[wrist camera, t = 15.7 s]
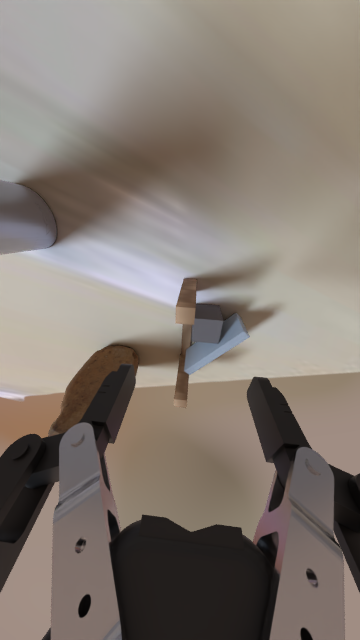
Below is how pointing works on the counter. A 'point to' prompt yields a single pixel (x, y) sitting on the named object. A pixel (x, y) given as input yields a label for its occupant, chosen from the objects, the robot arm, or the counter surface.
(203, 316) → the gray rectangular block
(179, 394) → the frame
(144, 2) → the counter surface
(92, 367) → the brown bread loaf
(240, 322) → the door
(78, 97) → the counter surface
